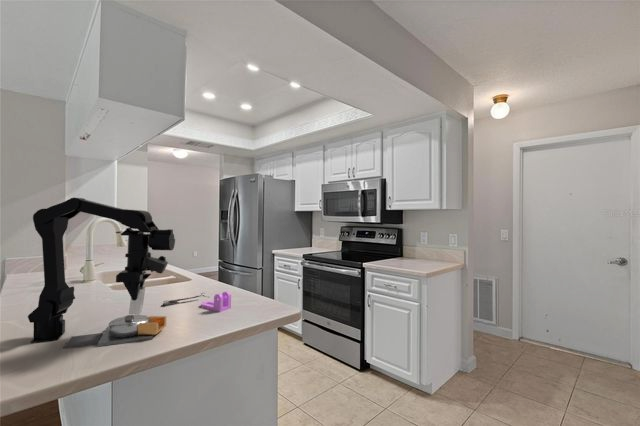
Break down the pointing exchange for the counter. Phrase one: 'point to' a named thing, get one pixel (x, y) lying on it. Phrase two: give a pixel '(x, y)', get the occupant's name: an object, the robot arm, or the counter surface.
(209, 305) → the bracket
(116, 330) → the oval metal lid
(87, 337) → the mat
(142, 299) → the gray rectangular block
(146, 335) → the base plate
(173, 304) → the hacksaw
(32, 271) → the counter surface
